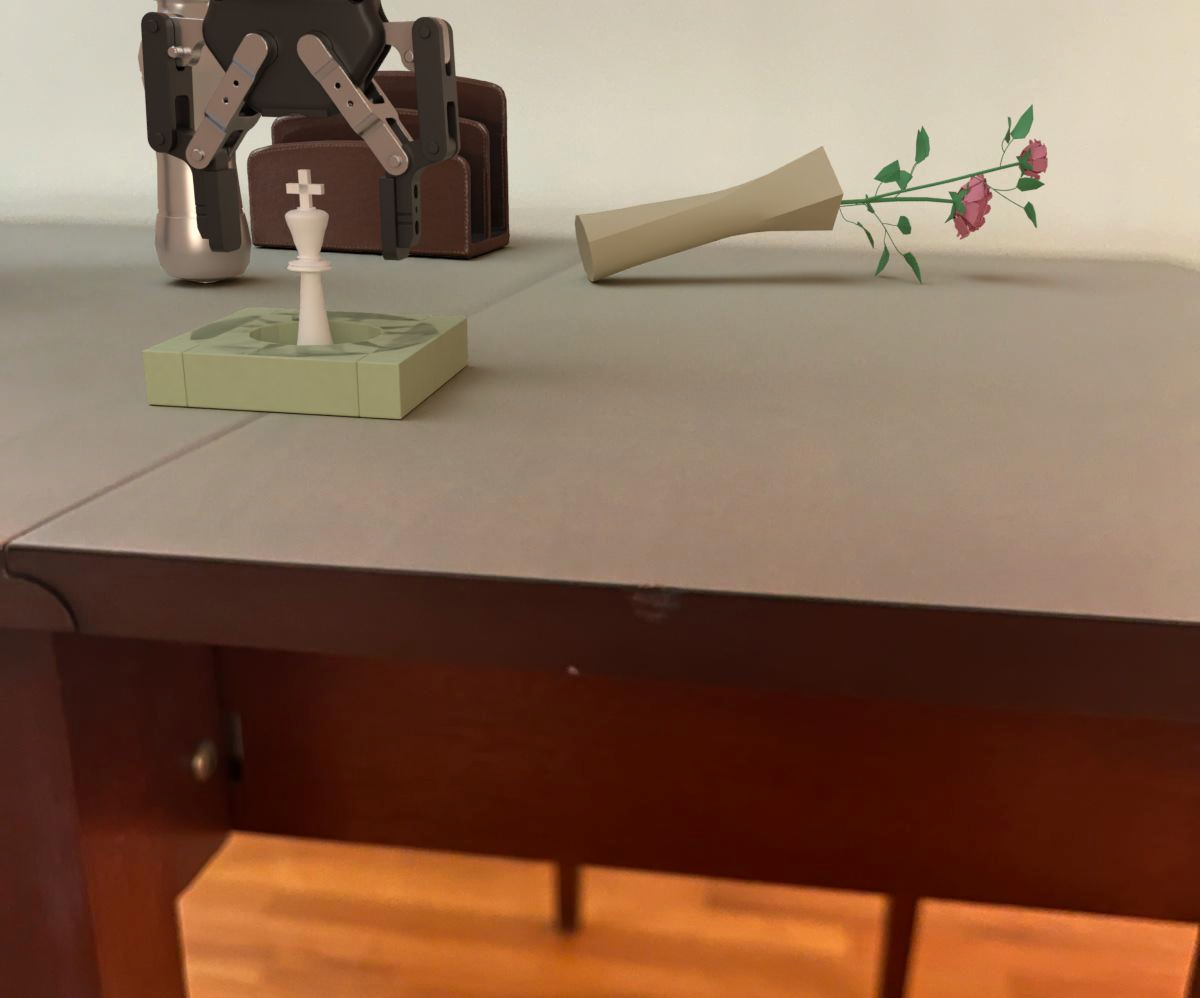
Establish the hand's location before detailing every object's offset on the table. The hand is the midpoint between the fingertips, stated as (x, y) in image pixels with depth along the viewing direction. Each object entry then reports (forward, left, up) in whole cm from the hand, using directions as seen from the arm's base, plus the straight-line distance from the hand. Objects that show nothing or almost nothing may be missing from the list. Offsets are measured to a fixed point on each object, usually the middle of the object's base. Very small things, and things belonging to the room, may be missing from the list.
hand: (311, 254), depth 63 cm
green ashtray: (0, 0, -6) cm, 6 cm away
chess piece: (0, 0, -6) cm, 6 cm away
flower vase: (+23, +42, -6) cm, 48 cm away
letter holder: (-13, +51, -6) cm, 53 cm away
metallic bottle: (-19, +29, -6) cm, 35 cm away
